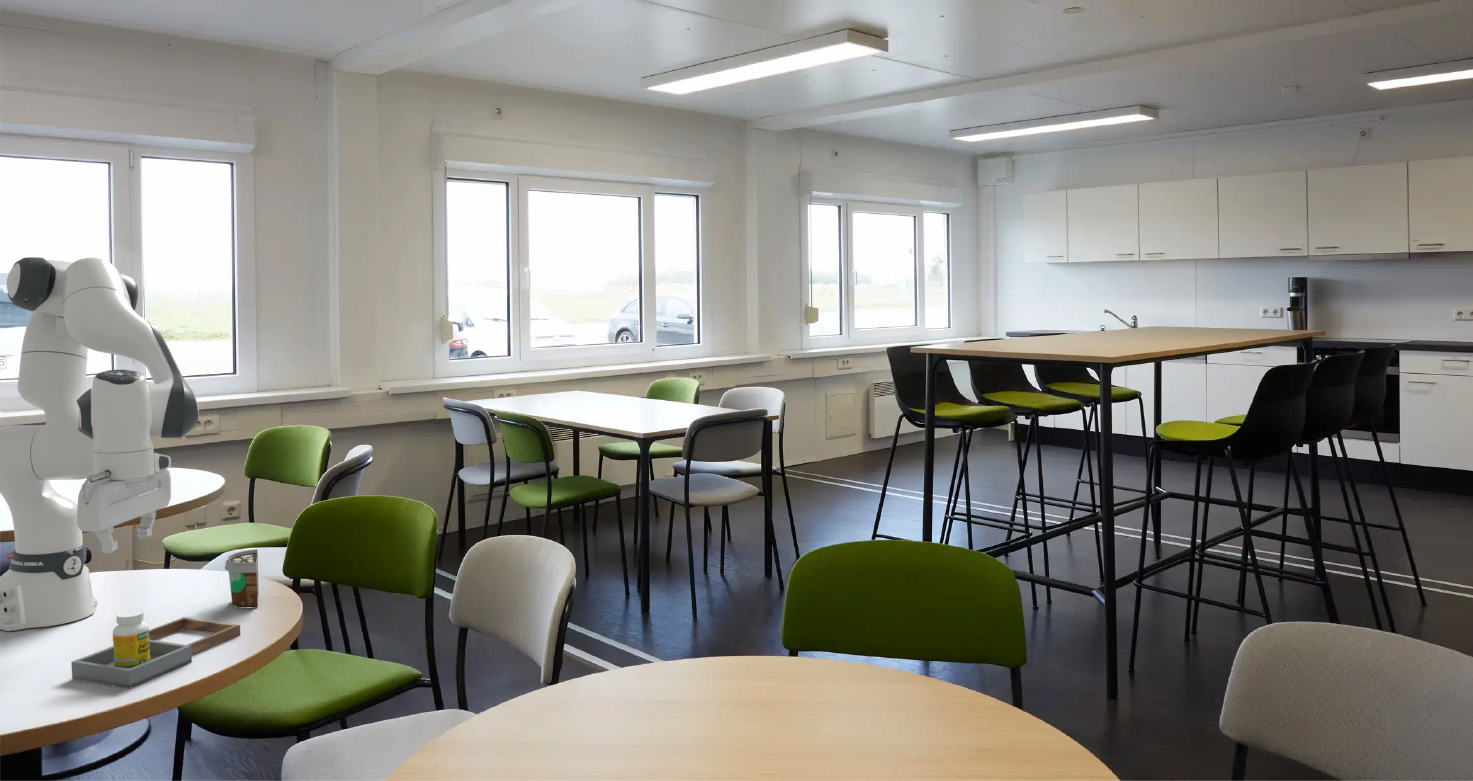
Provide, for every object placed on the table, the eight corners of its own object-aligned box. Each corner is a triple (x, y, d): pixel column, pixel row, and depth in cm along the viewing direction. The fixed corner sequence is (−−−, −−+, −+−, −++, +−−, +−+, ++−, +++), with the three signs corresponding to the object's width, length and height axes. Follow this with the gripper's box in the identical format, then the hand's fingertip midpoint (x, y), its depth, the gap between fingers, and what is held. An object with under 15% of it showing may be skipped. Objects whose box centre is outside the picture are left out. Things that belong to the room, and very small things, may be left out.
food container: (227, 596, 213) (225, 551, 212) (258, 593, 216) (257, 548, 215) (224, 613, 202) (222, 565, 201) (257, 609, 205) (256, 562, 204)
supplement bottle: (123, 661, 173) (120, 609, 172) (155, 660, 174) (153, 607, 173) (108, 673, 168) (106, 619, 167) (142, 672, 169) (140, 617, 168)
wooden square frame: (123, 650, 180) (122, 640, 180) (184, 627, 193) (183, 617, 193) (182, 659, 176) (182, 648, 176) (240, 635, 189) (240, 625, 189)
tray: (72, 678, 167) (71, 661, 166) (136, 653, 179) (135, 637, 179) (130, 688, 163) (129, 671, 163) (191, 662, 175) (191, 645, 175)
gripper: (102, 478, 157) (106, 562, 159) (176, 456, 177) (180, 530, 179) (63, 477, 157) (67, 561, 159) (142, 455, 177) (145, 529, 179)
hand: (127, 544), depth 169 cm, fingers open, 8 cm apart
